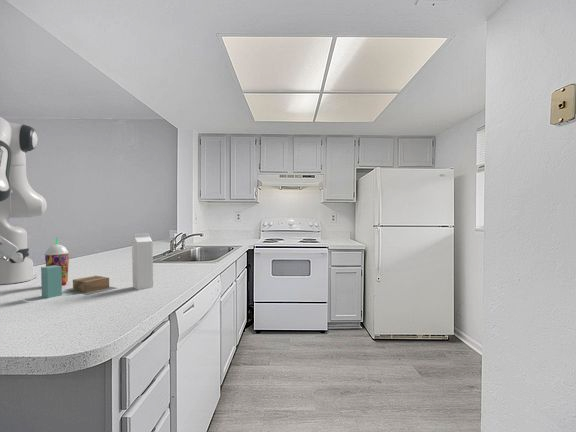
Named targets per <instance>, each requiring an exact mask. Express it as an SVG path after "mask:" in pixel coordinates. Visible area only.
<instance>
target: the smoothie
mask: <svg viewBox="0 0 576 432" xmlns="http://www.w3.org/2000/svg"><path fill="white" fill-rule="evenodd" d="M69 257H70V251H69V250H68V248H67V247H66V246H64V245H63V244H59V240H58V237H56V238H55V244H52V245H50V246H49V247H48V248H47V249H46V251H45V253H44V260H45V261H44V262H45V267H46V266H54V265H56V266H61V274H62V287H63V286H66V285H67V283H68V280H69V264H70V263H69V262H70V260H69Z"/></svg>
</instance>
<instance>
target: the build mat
mask: <svg viewBox="0 0 576 432" xmlns="http://www.w3.org/2000/svg"><path fill="white" fill-rule="evenodd" d="M116 289H118V287H116V286H115V287H114V286H111V285H109V288H106V289H102V290H97V291H92V292H88V293H84V292H80V291H75V290H73V287H70V288H67V289H64V291H67V292H71V293H76V294H77V293H78V294H81V295H86V296H88V295H93V294H94V295H95V294H99V293H102V292H106V291H107V292H108V291H112V290H116Z"/></svg>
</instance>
